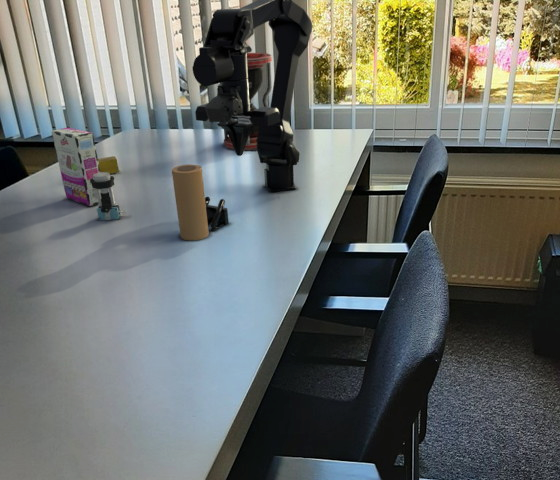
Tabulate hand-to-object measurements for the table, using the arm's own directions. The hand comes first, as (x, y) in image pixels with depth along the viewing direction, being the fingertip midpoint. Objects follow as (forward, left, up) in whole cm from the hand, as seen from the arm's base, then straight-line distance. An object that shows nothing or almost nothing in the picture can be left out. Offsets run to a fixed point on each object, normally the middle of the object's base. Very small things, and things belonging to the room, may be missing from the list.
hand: (239, 155), depth 138 cm
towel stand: (+9, +9, -12) cm, 18 cm away
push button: (+30, -4, -12) cm, 33 cm away
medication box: (+33, -41, -12) cm, 54 cm away
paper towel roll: (+10, +10, -10) cm, 17 cm away
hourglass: (-14, -59, -12) cm, 62 cm away
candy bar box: (+36, -20, -12) cm, 43 cm away
